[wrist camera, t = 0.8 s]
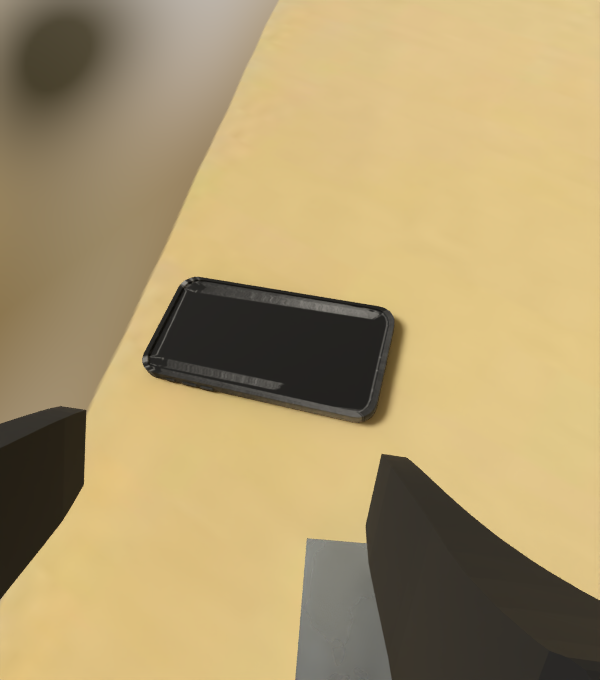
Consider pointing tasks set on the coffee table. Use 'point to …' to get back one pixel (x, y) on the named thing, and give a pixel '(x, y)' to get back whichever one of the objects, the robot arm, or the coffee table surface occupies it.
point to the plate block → (339, 616)
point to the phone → (274, 347)
